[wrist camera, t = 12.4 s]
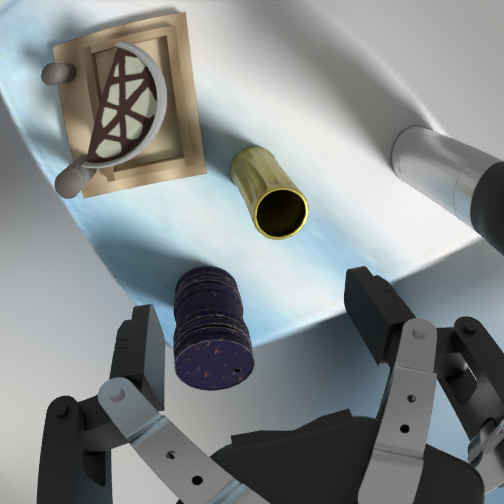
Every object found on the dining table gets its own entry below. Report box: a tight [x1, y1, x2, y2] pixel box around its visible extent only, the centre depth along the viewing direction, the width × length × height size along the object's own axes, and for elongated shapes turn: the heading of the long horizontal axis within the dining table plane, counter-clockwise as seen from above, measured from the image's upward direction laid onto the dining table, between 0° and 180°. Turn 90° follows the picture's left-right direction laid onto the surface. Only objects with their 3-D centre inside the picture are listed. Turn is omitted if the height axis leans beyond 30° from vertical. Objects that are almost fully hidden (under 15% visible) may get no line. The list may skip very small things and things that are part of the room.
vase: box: [230, 147, 309, 240], centre depth 35 cm, size 6×6×14 cm
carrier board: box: [41, 12, 207, 199], centre depth 30 cm, size 16×20×9 cm
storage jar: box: [173, 266, 255, 391], centre depth 43 cm, size 10×10×15 cm
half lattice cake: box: [81, 41, 167, 168], centre depth 28 cm, size 12×6×10 cm, turn 159°
